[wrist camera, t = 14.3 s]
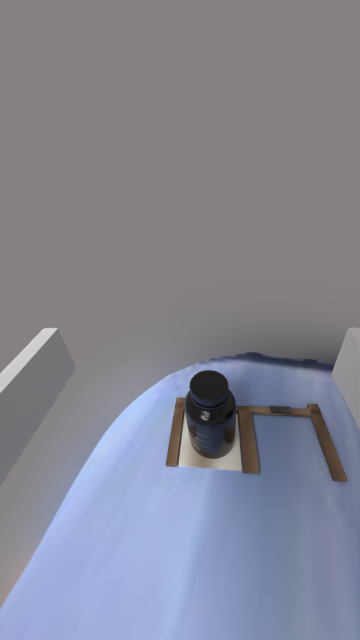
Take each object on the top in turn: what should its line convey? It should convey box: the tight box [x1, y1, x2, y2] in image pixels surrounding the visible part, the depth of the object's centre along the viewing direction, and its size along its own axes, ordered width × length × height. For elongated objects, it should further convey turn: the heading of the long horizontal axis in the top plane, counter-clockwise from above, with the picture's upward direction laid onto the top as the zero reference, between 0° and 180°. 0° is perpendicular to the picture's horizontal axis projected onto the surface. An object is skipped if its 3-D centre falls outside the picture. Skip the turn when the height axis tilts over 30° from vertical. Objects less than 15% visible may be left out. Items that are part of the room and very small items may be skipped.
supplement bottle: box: [184, 370, 236, 459], centre depth 33 cm, size 7×7×12 cm
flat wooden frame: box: [166, 398, 347, 482], centre depth 37 cm, size 23×11×1 cm, turn 83°
